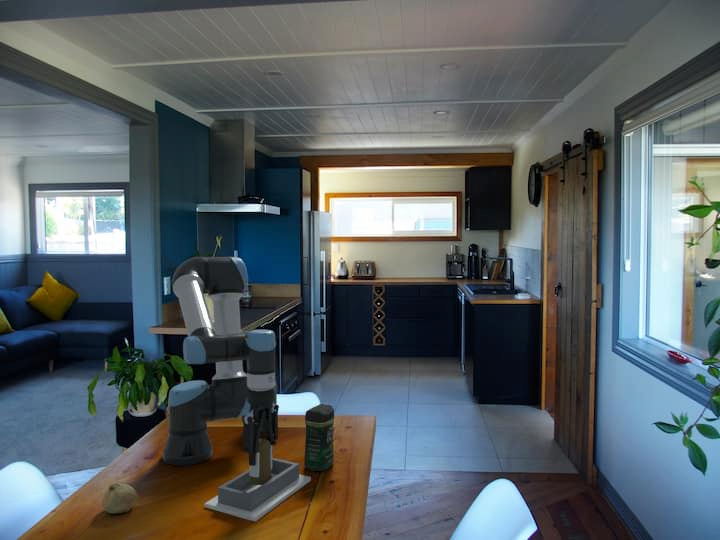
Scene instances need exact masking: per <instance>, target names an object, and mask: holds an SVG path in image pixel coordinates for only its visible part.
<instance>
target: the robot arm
mask: <svg viewBox="0 0 720 540" xmlns="http://www.w3.org/2000/svg"><path fill="white" fill-rule="evenodd" d="M248 275H249V274H248V270H247V266H246V264H245V262H244V261H243V259H241V258H240V257H235V256H195V257H191V258H189V259H187V260H185V261H183V262H182V263H181V264H180V265H179V266H178V267H177V268H176V270H175V272H174V274H173V276H172V279H171V287H172V292H173V293H174V295H175V296H176V297H177V298H178V301H179V306H180V309H181V312H182V317H183V321H184V325H185V329H186V333H187V337H184V340H183V344H182V352H183V359H184V363H186V364H188V365H203V364H213V363H214V364H215V370H216V373H215V374H214V376H213V377H212V378H211V384H208V382H207V381H205V380H200V379H198V380H190V381H189V380H188V381H185V382H181V383H178V384H177V385H174V386H173V387H172V388H171V389H170V390H169V393H168V402H167V405H168V434H167V435H168V436H167V438H166V442H165V446H164V448H163V450H162V461H163V462H164V463H165V464H168V465H172V466H190V465H196V464H199V463H203V462H205V461H207V460H209V459H210V458H211V457H212V456H213V445H212V443H211V439H210V435H209V433H208V423H210V422H216V421H222V420H232V419H238V418H241V420H242V426H243V430H242V431H243V433H242V452H243V453H245V454H248V465H249V467H248V468H249V469H248V470H249V476H252V477H257V478H258V477H259V452H257V450H258V444H259V439H260V437H261V432H260V431H261V427H262V430H263V432H262V433H263V439H267V440H268V441H269V442H270V444H271V448H270V451H269V459H270V466H271V469H272V458H273V454H274V448H273V447H274V446H276V445H277V440H278V438H279V429H278V428H279V426H278V425H279V416H278V415H279V414H278V413H279V409H280V405H279V404H277V405H275V404H272V403H273V402H274V401H275V388H274V386H275V381H276V346H277V342H276V334H275V331H273V330H271V329H252V330H250V331H249V330H246V331H241V315H240V314H241V313H240V312H241V311H240V299H241V298H242V297H243V296H244V291H247V289H248V286H249V276H248ZM204 292H207V297H208V299H210V300H211V301H212V304H213V305H212V306H213V320H212V316H211V314H210V310H209V306H208V304H207V300H206V297H205V294H204ZM243 361H246V366H247V367H246V368H247V369H246V370H247V371H246V372H244V368H243ZM254 422H255V423H254ZM257 423H259V424H257ZM253 448H254V449H253Z"/></svg>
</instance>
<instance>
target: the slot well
mask: <svg viewBox="0 0 720 540" xmlns="http://www.w3.org/2000/svg"><path fill="white" fill-rule="evenodd" d="M271 474H272V479H271V480H269V481H268V482H266V483H264V484H263V485H254V484H251V483H250V476H249V469H247V470H245V471H244V472H242V473H240V474H239V475H237V476H235V477H234V478H232V479H230V480H228V481H226V482H225V483H222V485H220V486H218V487H217V495H216V496H214V497H213V498H211V499H209V500H208V501H207V502H205V503H204V508H207V509H210V510H214V511H218V512H219V513H220V512H221V513H224V514H227V515H231V516H234V517H238V518H241V519H245V520H248V521H251V522H255V523H256V522H257V521H258V520H260V519H261V518H262V517H263V516H265V515H266V514H268V513H269V512H271V511H272V510H273V509H274V508H276V507H278V505H280V504H281V503H283V502H284V501H286V500H287V499H288V498H289V497H291V496H292V495H294V493H296V492H298V491H299V490H300V489H302V488H303V487H304V486H306V485H307V484H308V483H309V482H311V481H312V479H311V478H312V477H311V476H308V475H303V474H300V463H296V462H293V461H288V460H284V459H279V458H274V457H272V469H271Z"/></svg>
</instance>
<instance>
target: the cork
mask: <svg viewBox="0 0 720 540" xmlns="http://www.w3.org/2000/svg"><path fill="white" fill-rule="evenodd" d="M270 448H271V444H270V442H269V441H268V440H267V439H264V438H259V444H258V450H257V452H259V477H258V478H257V477H252V476H250V483H251V484H254V485H263V484H264V483H266V482H268V481H269V480H271V479H272V474H271V466H270V459H269V451H270ZM253 449H254V448H253Z"/></svg>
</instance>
